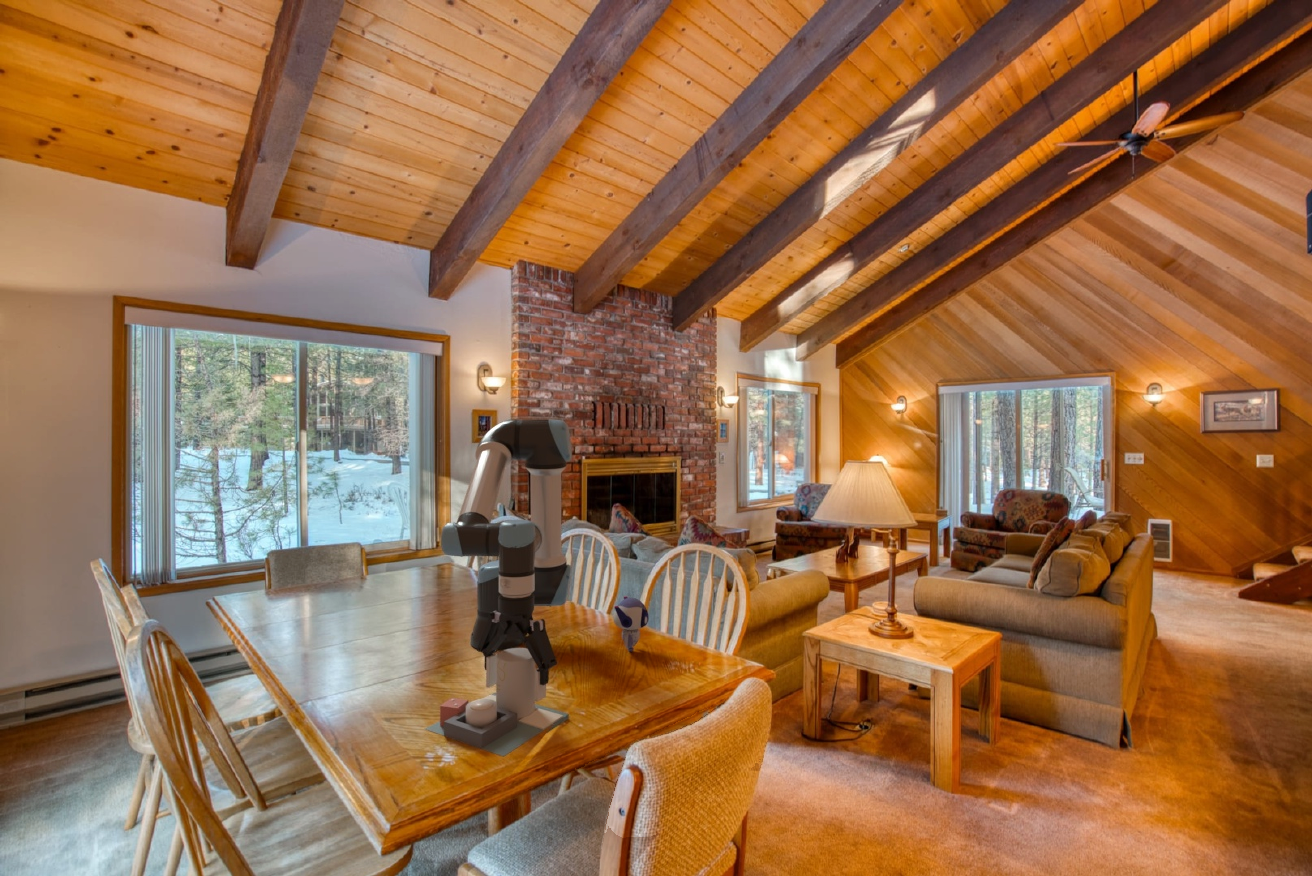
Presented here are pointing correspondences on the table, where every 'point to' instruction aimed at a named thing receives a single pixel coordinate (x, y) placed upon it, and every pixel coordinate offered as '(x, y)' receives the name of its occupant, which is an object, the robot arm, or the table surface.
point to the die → (451, 709)
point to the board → (500, 728)
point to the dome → (481, 712)
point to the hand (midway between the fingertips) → (515, 692)
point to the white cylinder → (515, 681)
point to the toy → (630, 620)
